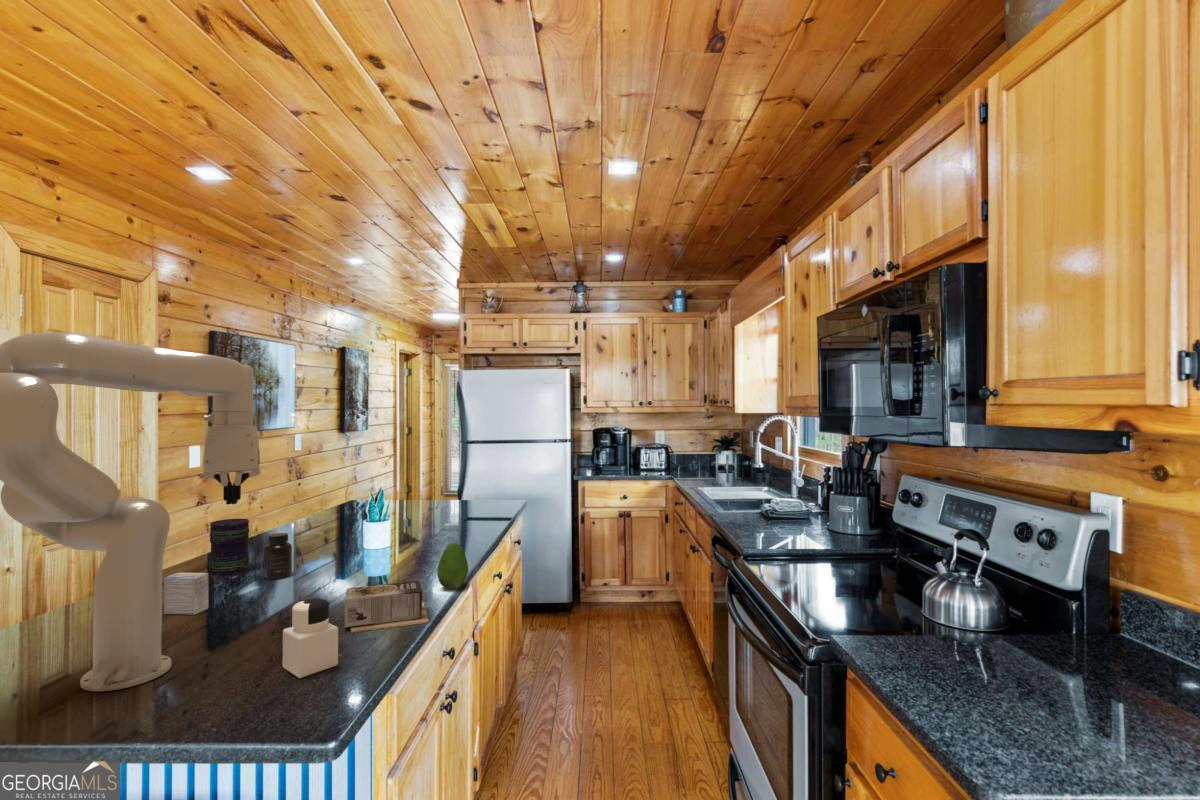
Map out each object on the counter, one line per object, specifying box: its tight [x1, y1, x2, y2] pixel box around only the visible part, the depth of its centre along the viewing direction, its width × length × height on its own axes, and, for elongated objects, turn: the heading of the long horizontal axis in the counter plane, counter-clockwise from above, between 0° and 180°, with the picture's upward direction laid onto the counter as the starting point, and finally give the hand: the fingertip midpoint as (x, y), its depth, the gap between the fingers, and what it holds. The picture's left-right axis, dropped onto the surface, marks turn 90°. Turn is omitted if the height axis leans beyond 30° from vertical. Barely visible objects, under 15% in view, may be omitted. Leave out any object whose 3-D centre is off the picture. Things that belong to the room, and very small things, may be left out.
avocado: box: [436, 542, 469, 590], centre depth 155 cm, size 8×8×12 cm
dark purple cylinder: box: [208, 518, 250, 578], centre depth 170 cm, size 10×10×15 cm
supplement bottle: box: [264, 532, 293, 580], centre depth 166 cm, size 7×7×12 cm
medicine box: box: [163, 572, 209, 616], centre depth 137 cm, size 8×4×9 cm, turn 84°
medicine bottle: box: [282, 597, 339, 679], centre depth 107 cm, size 7×7×12 cm
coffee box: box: [344, 580, 423, 628], centre depth 132 cm, size 9×6×16 cm
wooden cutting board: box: [350, 598, 429, 633], centre depth 136 cm, size 20×16×1 cm
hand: (232, 503), depth 127 cm, fingers closed
